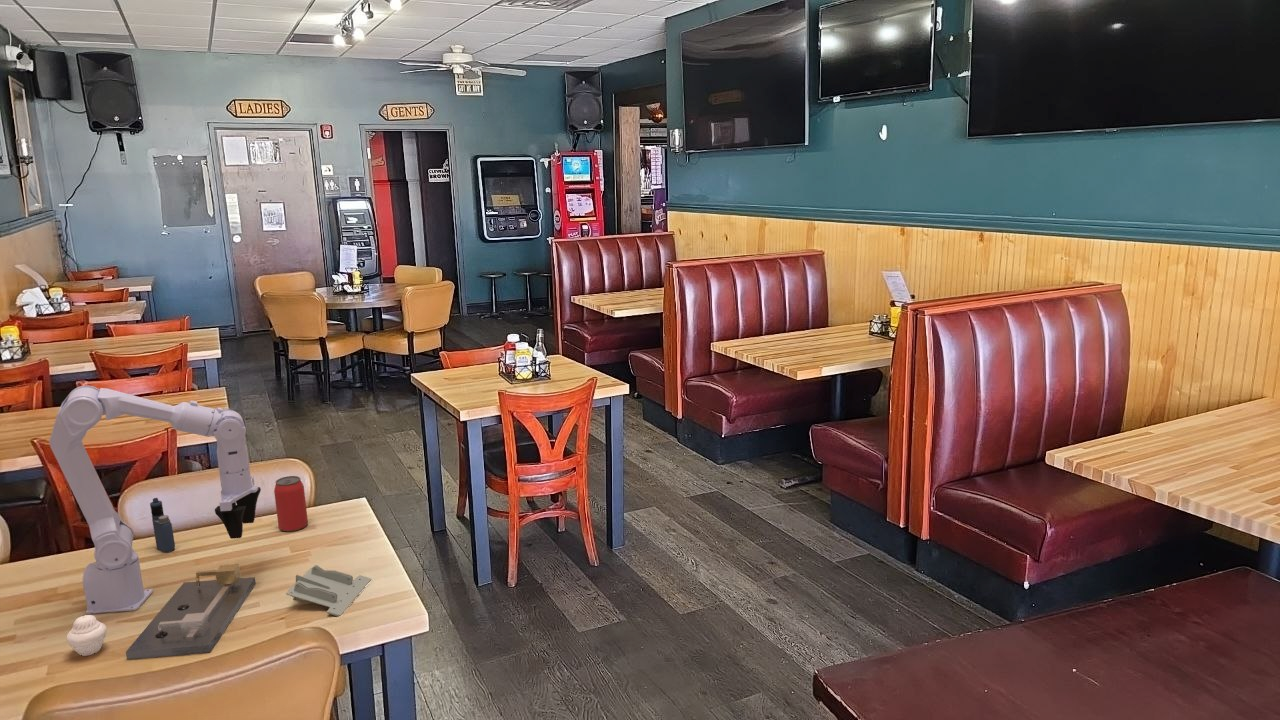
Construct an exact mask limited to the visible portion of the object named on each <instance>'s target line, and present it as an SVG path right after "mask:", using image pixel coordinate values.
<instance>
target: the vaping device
mask: <svg viewBox="0 0 1280 720" xmlns="http://www.w3.org/2000/svg"><path fill="white" fill-rule="evenodd" d="M149 506H150V512H151V517H152V520H151V521H152V526H153V531H154V532H153V533H154V538H155V546H156V549H157V550H159V551H160V552H163V553H171V552H173V551H174V550H175V547H176V543H175V536H174V531H173V529H174V528H173V524H172V522H171V519H170V518H169V515H167V514H165V513H164V507H163V501H162V500H159V497H154V498H152V501H151V502H150V503H149ZM164 514H165V515H164Z"/></svg>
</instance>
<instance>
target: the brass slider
mask: <svg viewBox="0 0 1280 720" xmlns="http://www.w3.org/2000/svg"><path fill="white" fill-rule="evenodd" d="M207 576H215V580H217V585H221V584H234V583H237V581H238V580H239V578H242V576H241V568H240V563H236V564H235V563H233V564H221V565H219V567H218V568H217V569H207V570H206V569H205V570H197V571H196V572H195V582H196V583H197V586H200V581H201V580H200V577H207Z"/></svg>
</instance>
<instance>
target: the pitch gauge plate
mask: <svg viewBox="0 0 1280 720" xmlns="http://www.w3.org/2000/svg"><path fill="white" fill-rule="evenodd" d="M256 584H257V582H256V576H254V577H253V576H252V577H251V576H250V577H240V578H239V580H238V581H237V583H234V584H221V585H217V580H216V579H214V580H213V579H211V580H200V586H197V583H196V581H186V582H185V581H183V583H182V584H181V586H179V588H178V589H177V590H176V591H175V593H174V594H173V595H172V596H171V597H170V599H169V600H168V601H167V602H166V603H165V605H164V606H163V607H162V608H161V609H160V610H159V612H157V614H156V615H155V616H154V618H153V619H152V620H151V621H150V622H149V623H148V625H147V626H146V627H144V629H143V631H142V632H141V633H140V635H138V636H137V638H136V639H135V640H134V641H133V642H132V644H131V645H130V646H129V647H128V649H127V650H126V651H125V655H126V660H140V659H150V658H152V659H153V658H162V657H175V656H185V655H187V656H188V655H197V654H210V653H211V652H212V651H213V650H214V648H215V646H216V644H217V643H218V642H219V640H220V639H221V637H222V635H223V634H224V632H225V631H226V629H227V628H228V626H229V625H230V623H231V622H232V620H233V619H234V617H235V616H236V614H237V613H238V611H239V610H240V609H241V607H242V606H243V604H244V602H245V601H246V599H247V598H248V597H249V595H250V593H251V592H252V590H253V589H254V587H255V586H256Z"/></svg>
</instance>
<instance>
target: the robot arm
mask: <svg viewBox="0 0 1280 720" xmlns="http://www.w3.org/2000/svg"><path fill="white" fill-rule="evenodd" d="M123 415H126V416H132V417H138V418H142V419H143V418H144V419H150V420H155V421H160V422H161V421H162V422H167V423H169V424H170V425H171V427H172V429H174V430H175V431H180V432H184V433H187V434H189V433H190V434H193V435H198V436H204V437H207V438H209V437H210V438H211V437H214V438H215V439H216V444H217V446H216V457H217V466H218V472H219V479H220V487H221V491H220V501H219V505H217V506H216V507H215V508H214V512H215V513H214V514H215V515H216V516H217V518H218V519H220V520H221V522H222V523H223V525H224V527H225V530H226V532H227V535H228V536H229V538H230V540H231V539H233V540H234V539H241V538H243V533H244V531H243V527H244V526H243V524H254V523H255V519H256V518H255V517H256V509H257V502H258V498H259V496H260V493H261V490H262V489H261V487H260V486H258V485H255V477H254V475H253V476H252V475H251V467H250V460H249V459H250V458H249V453H248V452H249V451H248V446H247V444H246V440H247V439H246V436H245V435H246V433H247V427H246V426H245V422H244V419H243V417H242V416H241V414H240V413H238V412H237V411H235V410H233V409H232V408H224V409H223V407H217V408H212V407H208V406H203V405H200V404H198V401H196V400H192V399H191V400H189V402H186V401H182V402H180V403H178V404H176V405H171V404H168V403H163V402H160V401H156V400H152V399H149V398H145V397H140V396H137V395H133V394H129V393H125V392H122V391H119V390H115V389H111V388H106V387H104V388H103V387H100V389H99V388H98V387H96V386H92V385H81V386H78V387H76V388H74V389H72V390H71V392H69V394H68V395H67V396H66V397H65V399H64V400H63V401H62V402H61V405H60V407H59V409H58V412H57V414H56V416H55V420H54V425H53V427H52V431H51V434H50V438H49V441H48V443H49V447H50V450H51V451H52V454H53V455H54V458H55V459H56V461H57V464H58V466H59V468H60V470H61V472H62V473H63V476H64V477H65V480H66V483H67V484H68V485H69V486H68V487H70V490H71V491H72V494H73V496H74V498H75V500H76V502H77V504H78V505H79V509H80V510H81V512H82V514H83V516H84V518H85V520H86V523H87V524H88V527H89V532H90V536H91V537H90V538H91V540H92V543H93V544H94V553H93V554H94V555H93V556H94V559H95V562H90V563H89V564H87V565H86V566H85V569H84V570H83V576H82V586H83V591H84V598H85V603H86V607H87V609H86V611H85V613H86V614H85V615H92V614H100V613H101V614H103V613H114V612H126V611H127V612H129V611H136V610H138V609H139V608H140V607H141V605H143V603H144V602H145V601H146V600H147V599H148V598H149V596H150V595H151V594H152V593H153V592H154V588H148V589H146V588H144V584H143V583H144V582H143V576H142V570H141V565H140V564H141V563H140V559H139V554H138V552H136V551H135V550H134V549H133V541H134V539H135V533H134V530H133V528H132V527H131V526H130V525H128V524H127V523H126V522H125V521H123V520H122V518H121V515H120V514H119V513H118V512H117V511H116V510H115V508H114V506H113V504H112V502H111V500H110V498H109V496H108V493H107V491H106V489H105V487H104V485H103V483H102V481H101V479H100V477H99V475H98V472H97V470H96V468H95V466H94V464H93V462H92V460H91V458H90V456H89V454H88V451H87V449H86V447H85V445H84V443H83V440H84V438H85V436H86V435H87V433H88V432H89V431H90V430H91V429H92V428H94V427H95V426H96V425H97V424H98V423H99V422H100V421H101V419H103V418H102V417H103V416H105V421H110V420H112V419H115V418H119V417H120V416H123Z"/></svg>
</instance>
